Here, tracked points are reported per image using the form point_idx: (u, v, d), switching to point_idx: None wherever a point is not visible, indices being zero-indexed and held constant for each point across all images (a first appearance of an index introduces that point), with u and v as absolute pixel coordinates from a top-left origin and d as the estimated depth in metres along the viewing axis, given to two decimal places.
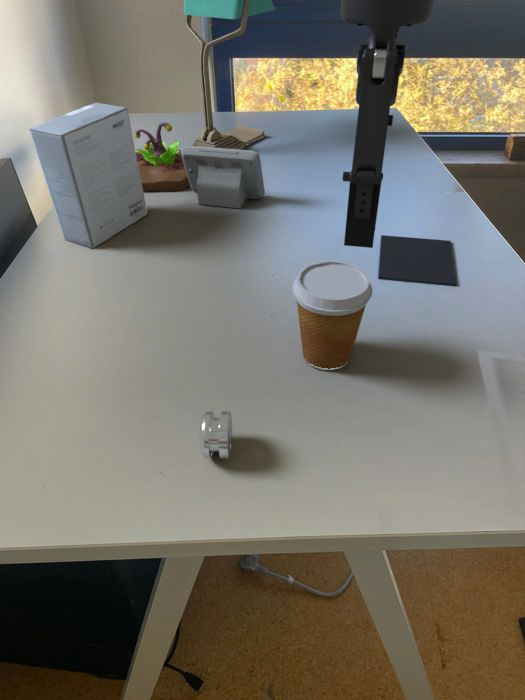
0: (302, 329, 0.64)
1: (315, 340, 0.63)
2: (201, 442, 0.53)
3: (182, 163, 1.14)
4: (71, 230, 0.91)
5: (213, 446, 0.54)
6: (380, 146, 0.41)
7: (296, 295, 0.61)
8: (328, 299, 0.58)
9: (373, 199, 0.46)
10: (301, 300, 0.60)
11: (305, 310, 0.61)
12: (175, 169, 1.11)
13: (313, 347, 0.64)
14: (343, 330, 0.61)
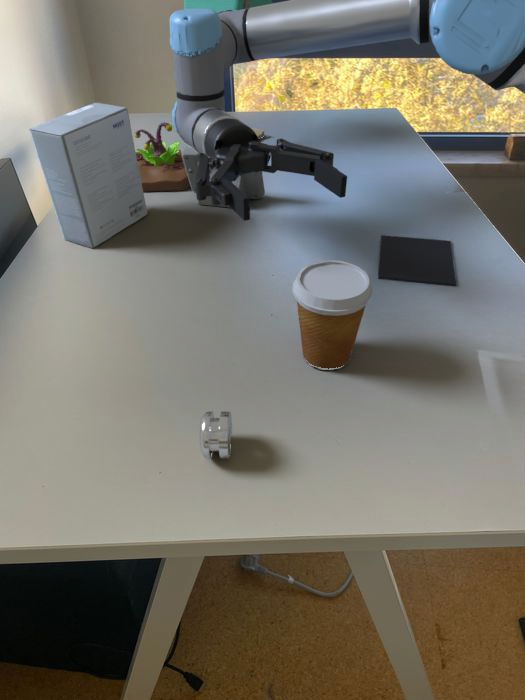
0: (302, 329, 0.64)
1: (315, 340, 0.63)
2: (201, 442, 0.53)
3: (182, 163, 1.14)
4: (71, 230, 0.91)
5: (213, 446, 0.54)
6: None
7: (296, 295, 0.61)
8: (328, 299, 0.58)
9: (227, 188, 0.63)
10: (301, 300, 0.60)
11: (305, 310, 0.61)
12: (175, 169, 1.11)
13: (313, 346, 0.64)
14: (342, 330, 0.61)
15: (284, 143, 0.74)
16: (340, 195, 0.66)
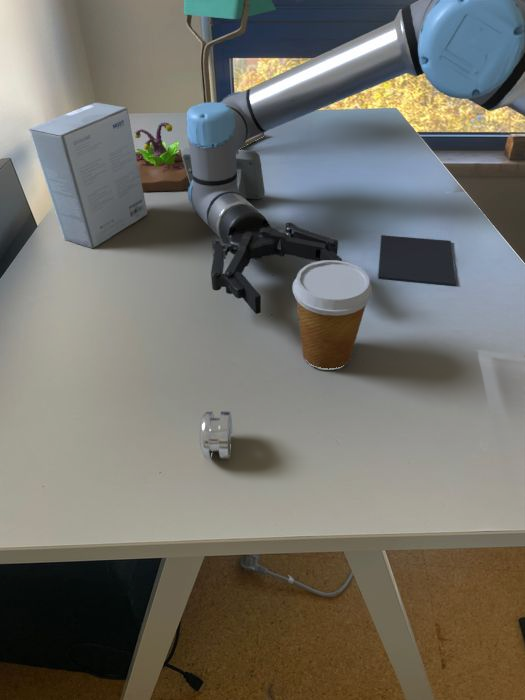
0: (302, 329, 0.64)
1: (315, 340, 0.63)
2: (201, 442, 0.53)
3: (182, 163, 1.14)
4: (71, 230, 0.91)
5: (213, 446, 0.54)
6: (212, 266, 0.72)
7: (296, 295, 0.61)
8: (328, 299, 0.58)
9: (240, 281, 0.69)
10: (301, 300, 0.60)
11: (305, 310, 0.61)
12: (175, 169, 1.11)
13: (313, 346, 0.64)
14: (342, 330, 0.61)
15: (293, 228, 0.80)
16: None
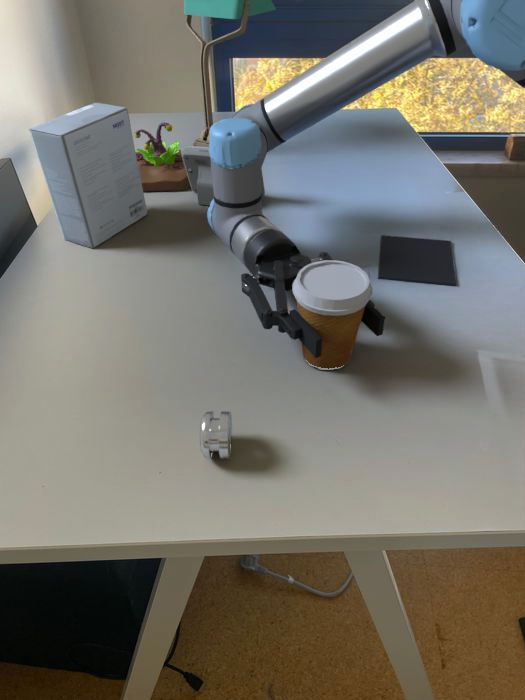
0: None
1: None
2: (201, 442, 0.53)
3: (182, 163, 1.14)
4: (71, 230, 0.91)
5: (213, 446, 0.54)
6: (258, 304, 0.65)
7: (296, 295, 0.61)
8: (328, 299, 0.58)
9: (296, 321, 0.62)
10: (301, 300, 0.60)
11: (305, 310, 0.61)
12: (175, 169, 1.11)
13: None
14: (342, 330, 0.61)
15: (325, 259, 0.73)
16: (377, 334, 0.63)
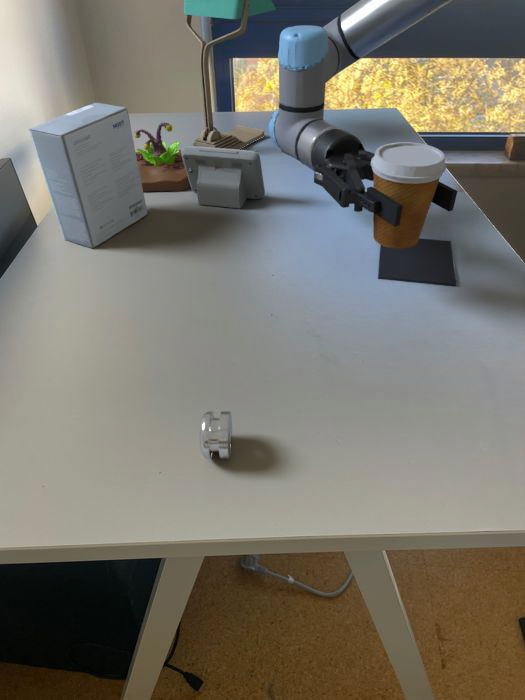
0: None
1: None
2: (201, 442, 0.53)
3: (182, 163, 1.14)
4: (71, 230, 0.91)
5: (213, 446, 0.54)
6: (335, 185, 0.70)
7: (376, 168, 0.65)
8: (409, 166, 0.63)
9: (374, 196, 0.67)
10: (382, 171, 0.65)
11: (384, 182, 0.65)
12: (175, 169, 1.11)
13: None
14: (419, 201, 0.66)
15: None
16: (448, 209, 0.68)
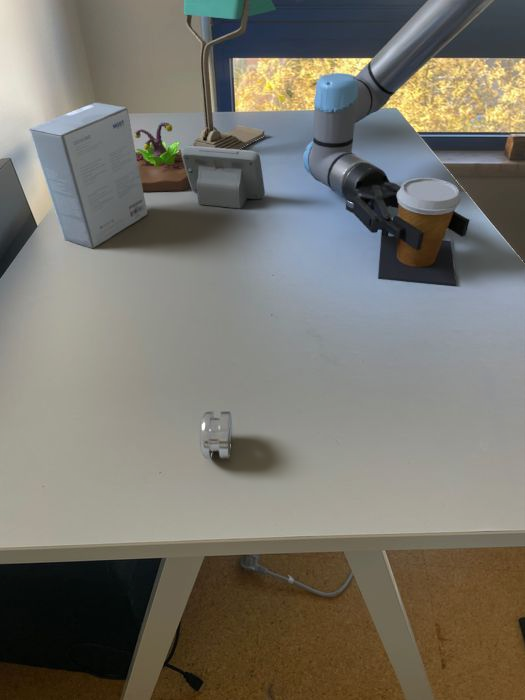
0: None
1: None
2: (201, 442, 0.53)
3: (182, 163, 1.14)
4: (71, 230, 0.91)
5: (213, 446, 0.54)
6: (365, 213, 0.83)
7: (401, 201, 0.78)
8: (430, 200, 0.76)
9: (399, 223, 0.80)
10: (406, 204, 0.78)
11: (408, 212, 0.78)
12: (175, 169, 1.11)
13: None
14: (437, 228, 0.79)
15: None
16: (461, 235, 0.81)
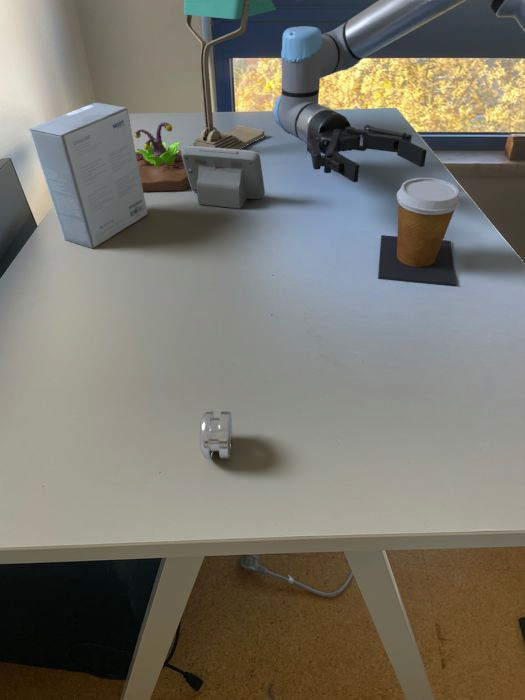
0: (402, 231, 0.82)
1: (413, 239, 0.81)
2: (201, 442, 0.53)
3: (182, 163, 1.14)
4: (71, 230, 0.91)
5: (213, 446, 0.54)
6: (312, 151, 0.89)
7: (402, 201, 0.78)
8: (430, 200, 0.76)
9: (338, 159, 0.86)
10: (406, 204, 0.78)
11: (408, 212, 0.78)
12: (175, 169, 1.11)
13: (410, 245, 0.82)
14: (437, 228, 0.79)
15: (371, 128, 0.96)
16: (420, 165, 0.88)
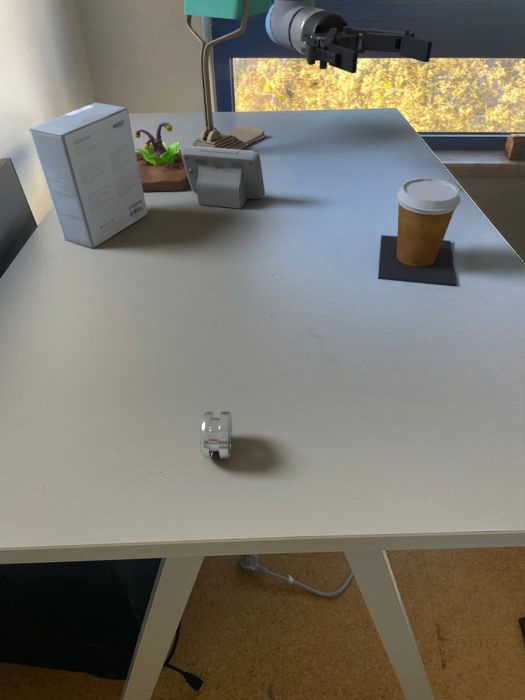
0: (402, 231, 0.82)
1: (413, 239, 0.81)
2: (201, 442, 0.53)
3: (182, 163, 1.14)
4: (71, 230, 0.91)
5: (213, 446, 0.54)
6: (307, 45, 0.81)
7: (402, 201, 0.78)
8: (430, 200, 0.76)
9: (335, 50, 0.78)
10: (406, 204, 0.78)
11: (408, 212, 0.78)
12: (175, 169, 1.11)
13: (410, 245, 0.82)
14: (437, 228, 0.79)
15: (371, 29, 0.88)
16: (425, 60, 0.80)
